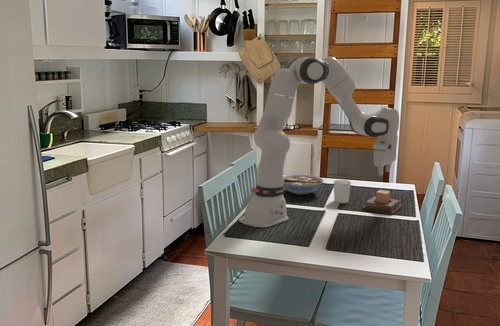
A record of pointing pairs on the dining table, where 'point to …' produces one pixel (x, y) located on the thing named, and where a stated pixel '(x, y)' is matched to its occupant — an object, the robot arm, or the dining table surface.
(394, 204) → the walnut socket base
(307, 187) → the ramen bowl
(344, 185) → the white cup
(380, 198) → the terracotta block
